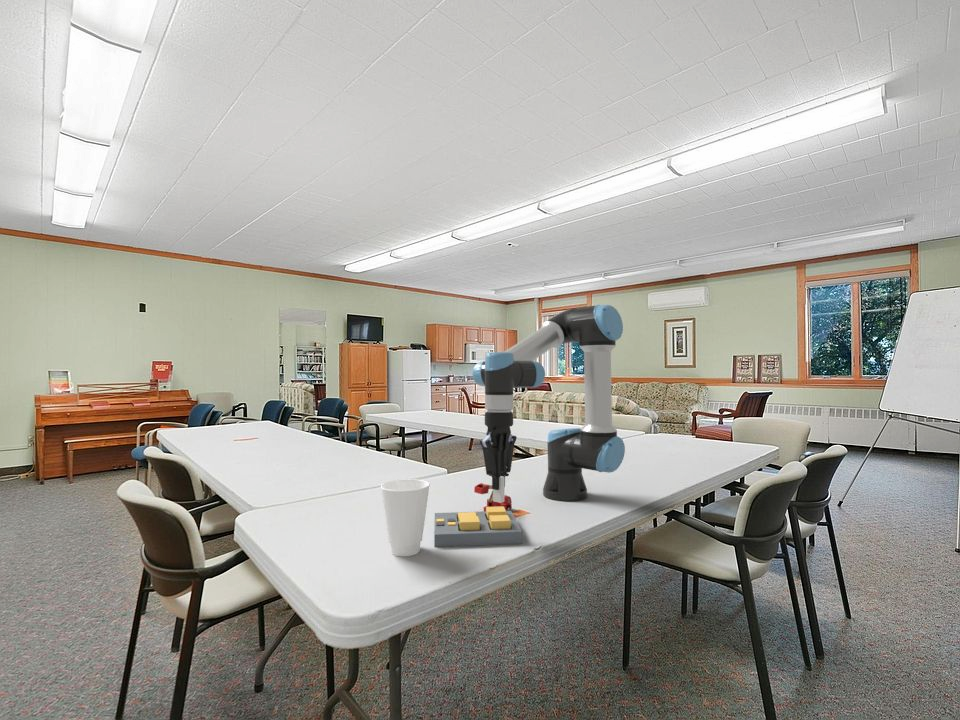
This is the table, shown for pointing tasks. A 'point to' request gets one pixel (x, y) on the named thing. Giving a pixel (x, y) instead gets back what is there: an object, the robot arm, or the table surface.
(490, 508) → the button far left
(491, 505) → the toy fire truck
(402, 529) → the cup
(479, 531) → the board
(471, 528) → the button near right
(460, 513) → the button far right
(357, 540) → the table surface
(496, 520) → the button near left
